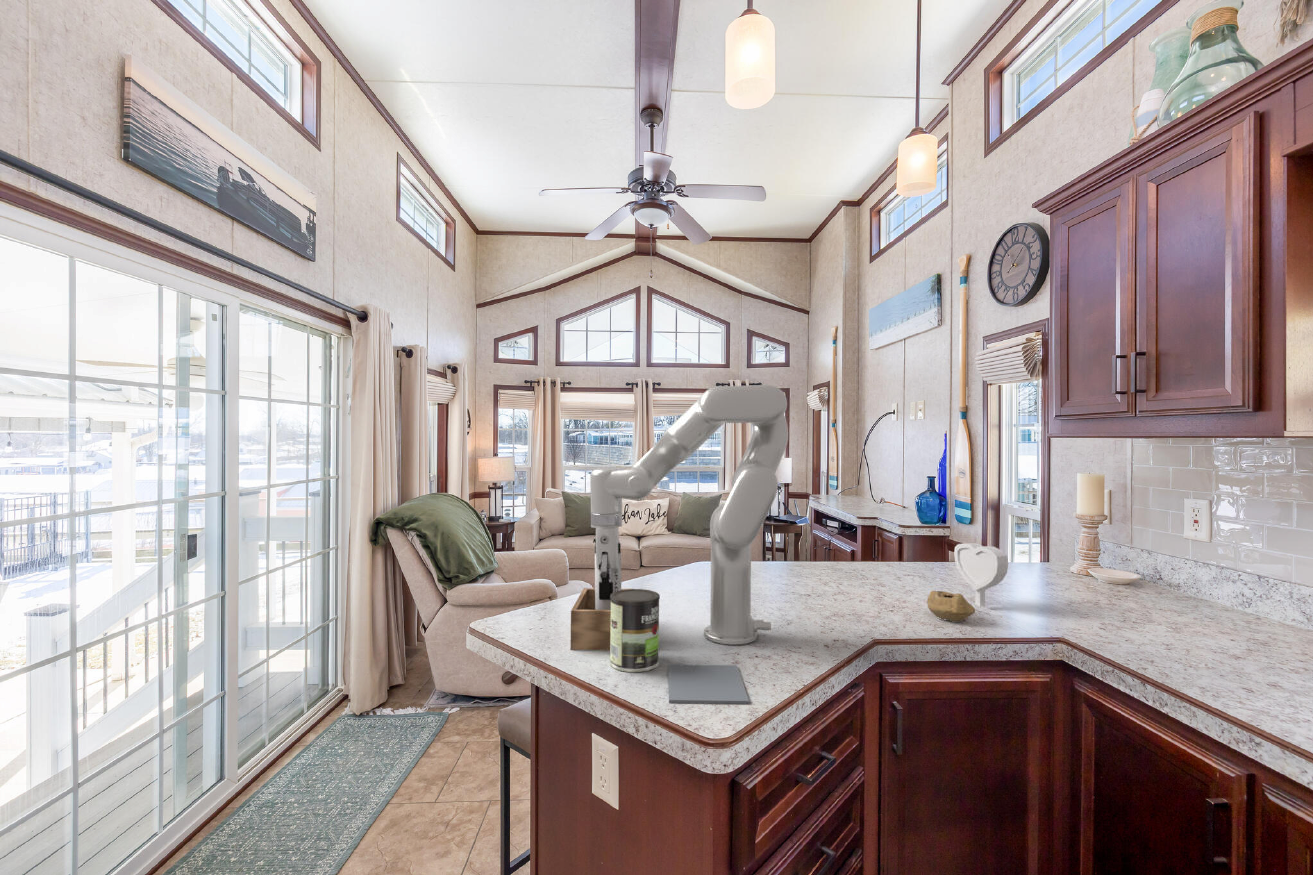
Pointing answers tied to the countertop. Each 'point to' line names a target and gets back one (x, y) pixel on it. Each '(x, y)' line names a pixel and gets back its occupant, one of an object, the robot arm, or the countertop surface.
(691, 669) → the mat
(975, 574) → the heart sculpture
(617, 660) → the coffee can
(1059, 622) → the countertop surface
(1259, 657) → the countertop surface
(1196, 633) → the countertop surface
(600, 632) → the crate
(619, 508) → the robot arm
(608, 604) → the travel mug
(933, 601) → the oil lamp
